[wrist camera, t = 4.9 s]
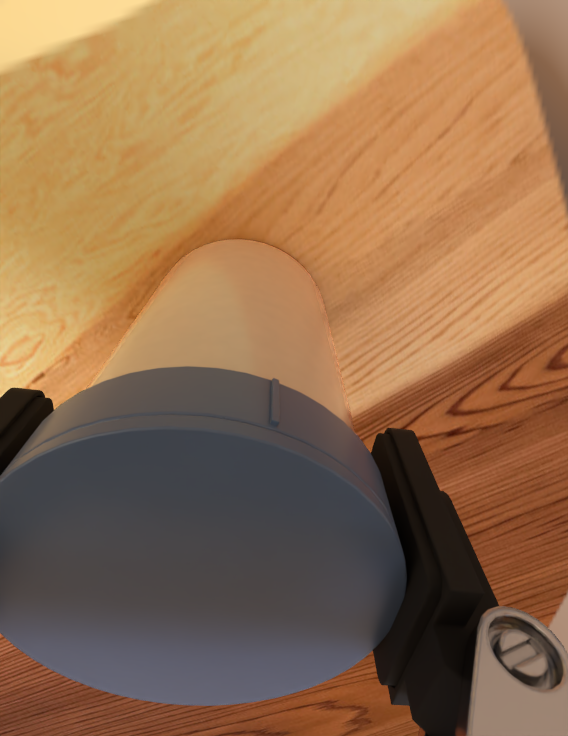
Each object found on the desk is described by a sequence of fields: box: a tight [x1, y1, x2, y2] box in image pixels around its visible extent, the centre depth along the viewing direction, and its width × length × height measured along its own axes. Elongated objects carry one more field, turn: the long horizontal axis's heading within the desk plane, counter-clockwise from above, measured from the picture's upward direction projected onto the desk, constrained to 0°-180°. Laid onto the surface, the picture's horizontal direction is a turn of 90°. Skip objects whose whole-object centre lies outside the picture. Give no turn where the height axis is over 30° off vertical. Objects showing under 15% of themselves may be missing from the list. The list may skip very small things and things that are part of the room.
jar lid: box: [0, 366, 407, 706], centre depth 8 cm, size 7×7×2 cm
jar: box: [86, 239, 356, 434], centre depth 12 cm, size 6×6×10 cm
